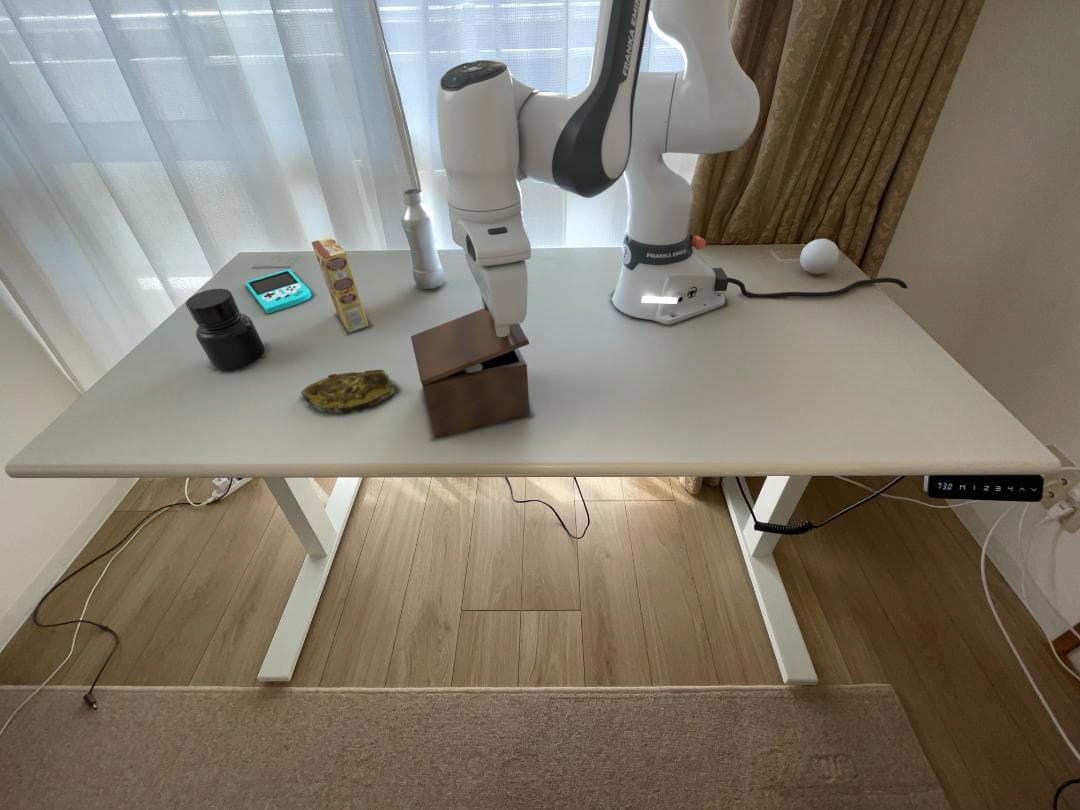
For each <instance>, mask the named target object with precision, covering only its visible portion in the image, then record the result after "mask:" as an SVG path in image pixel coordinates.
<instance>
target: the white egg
mask: <svg viewBox="0 0 1080 810" xmlns="http://www.w3.org/2000/svg"><path fill="white" fill-rule="evenodd" d="M802 245H803V246H804V247H803V249H802V250H801V252H800V256H799V262H800V267H802V268H803V270H804V271H805V272H807V273H809V274H811V275H822V274H825V273H827V272H829V271H831V270H832V269H833V268H834V267H835V266H836V265H837V263H838V261H839V258H840V252H839V247H838V246H837V244H836V243H835V242H834V241H832V240H830V239H828V238H817V239H814V240H811V241H810V242H808V243H807V244H806V245H805V243H804V244H803V243H802Z"/></svg>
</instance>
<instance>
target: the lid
mask: <svg viewBox="0 0 1080 810" xmlns="http://www.w3.org/2000/svg"><path fill="white" fill-rule="evenodd" d="M483 300H484V302H485V299H484V297H483ZM485 304H486V302H485ZM486 306H487V304H486ZM487 308H488V306H487ZM488 310H489V308H488ZM494 321H495V320H494V318H493V316H492V314H491V312H490V310H489V311H486V310H485V309H484V307H483V308H481V309H478V310H475V311H473V312H470V313H468V314H465V315H462V316H460V317H458V318H457V317H456V318H455V319H452V320H450V321H447V322H445V323H442V324H438V325H437V326H434V327H431V328H429V329H426V330H423V331H421V332H418V333H415V334H413V335H410V340H411V344H412V348H413V352H414V357H415V362H416V367H417V370H418V375H419V380H420V384H421V386H422V385H426V384H429V383H431V382H434V381H436V380H439V379H441V378H444V377H446V376H449V375H452V374H454V373H457V372H459V371H462V370H464V369H467V368H469V367H472V366H474V365H477V364H480V363H482V362H485V361H487V360H490V359H492V358H495V357H497V356H500V355H503V354H505V353H508V352H510V351H513V350H515V349H518V348H519V349H521V348H523V347H525V346H528V345H530V341H529V338H528V337H527V335H526V333H525V331H524V329H523V327H522V326H521V323H519V324H514V325H509V329H510V333H509V335H508V336H504V337H498V336H497V334H496V332H495V330H494Z"/></svg>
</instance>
